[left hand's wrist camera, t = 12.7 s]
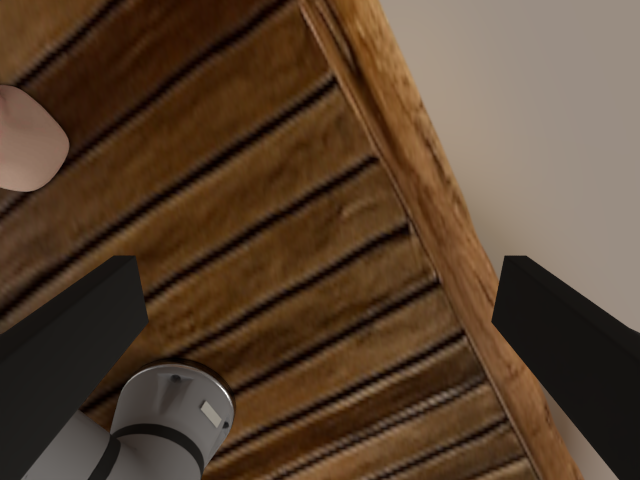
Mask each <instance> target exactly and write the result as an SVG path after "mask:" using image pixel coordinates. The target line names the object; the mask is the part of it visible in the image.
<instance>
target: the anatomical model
mask: <svg viewBox="0 0 640 480" xmlns="http://www.w3.org/2000/svg"><path fill="white" fill-rule="evenodd" d="M68 151H69V141H68V138H67V136H66V134H65V132H64V131H63V129H62V128H61V127H60V126H59V124H58V123H57V122H56V121H55V120H54V119H53V118H52V117H51V116H50V115H49V113H48V112H47V111H46V110H45V109H44V108H43V107H42V106H41V105H40V104H38V103H37V102H36V101H35V100H34V99H33V98H31V97H30V96H29V95H28V94H27V93H25V92H24V91H22V90H20V89H18V88H16V87H13V86H8V85H0V187H1V188H5V189H9V190H15V191H25V192H26V191H33V190H36V189H39V188H41V187H42V186H44V185H45V184H46V183H48V182H49V181H50V180H51V179H52V178H53V177H54V176H55V174H56V173H57V171H58V170H59V169H60V167H61V166H62V164H63V162H64V160H65V158H66V156H67V154H68Z"/></svg>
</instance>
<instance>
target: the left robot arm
mask: <svg viewBox="0 0 640 480" xmlns="http://www.w3.org/2000/svg"><path fill="white" fill-rule="evenodd" d="M148 322H149V321H148V316H147V311H146V306H145V301H144V296H143V291H142V286H141V281H140V276H139V271H138V266H137V261H136V256H113V257H111V258H110V259H108V260H107V261H106V262H104V263H103V264H101V265H100V266H98V267H97V268H96V269H94V270H93V271H91V272H90V273H88V274H87V275H86V276H84V277H83V278H81V279H80V280H78V281H77V282H76V283H74V284H73V285H71V286H70V287H69V288H67V289H66V290H64V291H63V292H61V293H60V294H59V295H57V296H56V297H54V298H53V299H51V300H50V301H49V302H47V303H46V304H44V305H43V306H42V307H40V308H39V309H37V310H36V311H34V312H33V313H32V314H30V315H29V316H27V317H26V318H24V319H23V320H22V321H20V322H19V323H17V324H16V325H15V326H13V327H12V328H10V329H9V330H7V331H6V332H4V333H2V334H0V480H201V477H202V474H203V471H204V468H205V467H206V465H207V464H208V462H209V461H210V460H211V458H212V457H213V455H214V454H215V452H216V451H217V450H218V448H219V447H220V445H221V444H222V443H223V441H224V440H225V438H226V437H227V435H228V433H229V431H230V429H231V427H232V424H233V420H234V417H235V412H236V402H235V398H234V395H233V392H232V390H231V388H230V387H229V385H228V384H227V383H226V381H225V380H224V379H223V378H222V377H221V376H220V375H218V374H217V373H216V372H214V371H213V370H211V369H210V368H208V367H206V366H204V365H201V364H199V363H196V362H193V361H189V360H183V359H164V360H158V361H154V362H151V363H149V364H147V365H145V366H143V367H141V368H140V369H138V370H137V371H136V372H135V373H134V374H133V375H132V376H131V378H130V379H129V380H128V382H127V383H126V385H125V386H124V388H123V390H122V392H121V394H120V397H119V399H118V403H117V407H116V411H115V415H114V419H113V423H112V427H111V431H110V433H109V432H107V431H106V430H105V429H103V428H102V427H101V426H99V425H98V424H97V423H95V422H94V421H93V420H92V419H90V418H89V417H88V416H86V415H85V414H84V413H82V412H81V411H80V410H78V409H79V407H80V406H81V405H82V404H83V402H84V401H85V400H86V399H87V397H88V396H89V395H90V394H91V393H92V391H93V390H94V389H95V388H96V386H97V385H98V384H99V383H100V381H101V380H102V379H103V378H104V376H105V375H106V374H107V373H108V372H109V370H110V369H111V368H112V367H113V365H114V364H115V363H116V362H117V360H118V359H119V358H120V357H121V356H122V354H123V353H124V352H125V351H126V349H127V348H128V347H129V346H130V344H131V343H132V342H133V341H134V339H135V338H136V337H137V336H138V335H139V333H140V332H141V331H142V330H143V328H144V327H145V326H146V325H147V323H148ZM491 322H492V323H493V325H494V326H495V327H496V328H497V330H498V331H499V332H500V333H501V335H502V336H503V337H504V338H505V339H506V341H507V342H508V343H509V344H510V346H511V347H512V348H513V349H514V351H515V352H516V353H517V354H518V356H519V357H520V358H521V359H522V360H523V362H524V363H525V364H526V365H527V367H528V368H529V369H530V370H531V372H532V373H533V374H534V375H535V376H536V378H537V379H538V380H539V381H540V383H541V384H542V385H543V386H544V388H545V389H546V390H547V391H548V393H549V394H550V395H551V396H552V397H553V399H554V400H555V401H556V402H557V404H558V405H559V406H560V407H561V408H562V410H563V411H564V412H565V413H566V415H567V416H568V417H569V418H570V420H571V421H572V422H573V423H574V425H575V426H576V427H577V428H578V430H579V431H580V432H581V433H582V434H583V436H584V437H585V438H586V439H587V441H588V442H589V443H590V444H591V446H592V447H593V448H594V449H595V451H596V452H597V453H598V454H599V455H600V457H601V458H602V459H603V460H604V462H605V463H606V464H607V465H608V466H609V468H610V469H611V470H612V471H613V473H614V474H615V475H616V476H617V478H618V479H619V480H640V333H639V332H637V331H634V330H632V329H630V328H628V327H627V326H625V325H624V324H623V323H621V322H620V321H618V320H617V319H615V318H614V317H613V316H611V315H610V314H608V313H607V312H606V311H604V310H603V309H601V308H600V307H598V306H597V305H596V304H594V303H593V302H591V301H590V300H588V299H587V298H586V297H584V296H583V295H581V294H580V293H579V292H577V291H576V290H574V289H573V288H571V287H570V286H569V285H567V284H566V283H564V282H563V281H562V280H560V279H559V278H557V277H556V276H554V275H553V274H551V273H550V272H549V271H547V270H546V269H544V268H543V267H542V266H540V265H539V264H537V263H536V262H534V261H533V260H532V259H530V258H529V257H527V256H504V261H503V266H502V271H501V276H500V281H499V286H498V291H497V296H496V301H495V306H494V311H493V316H492V321H491Z"/></svg>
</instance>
